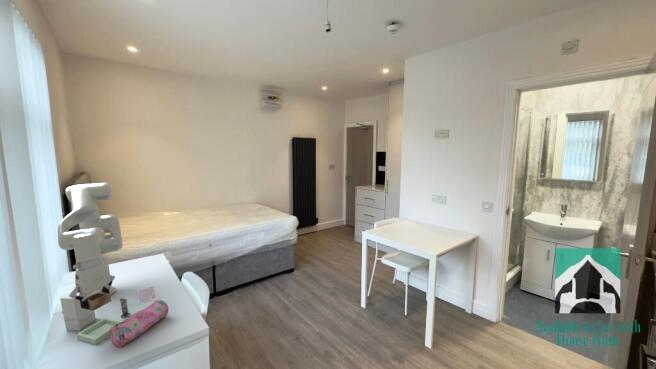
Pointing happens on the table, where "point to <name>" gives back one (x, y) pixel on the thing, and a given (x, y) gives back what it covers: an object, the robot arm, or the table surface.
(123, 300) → the grey stamp
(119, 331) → the pencil case
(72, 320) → the skincare box
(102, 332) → the tray
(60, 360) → the table surface
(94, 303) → the brown square frame
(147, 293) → the mobile phone
